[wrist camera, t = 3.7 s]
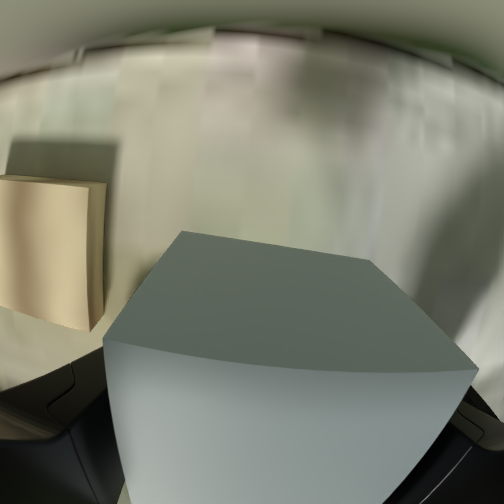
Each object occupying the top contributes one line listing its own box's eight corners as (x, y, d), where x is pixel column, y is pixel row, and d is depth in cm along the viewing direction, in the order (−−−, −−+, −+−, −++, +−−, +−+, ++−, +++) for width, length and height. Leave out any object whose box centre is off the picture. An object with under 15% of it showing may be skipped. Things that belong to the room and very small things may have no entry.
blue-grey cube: (369, 260, 9) (478, 368, 4) (322, 399, 11) (358, 526, 5) (181, 230, 9) (102, 337, 3) (171, 383, 10) (136, 518, 5)
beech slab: (106, 183, 18) (88, 187, 15) (103, 314, 20) (89, 332, 18) (4, 174, 17) (-18, 178, 15) (9, 289, 20) (-9, 302, 17)
